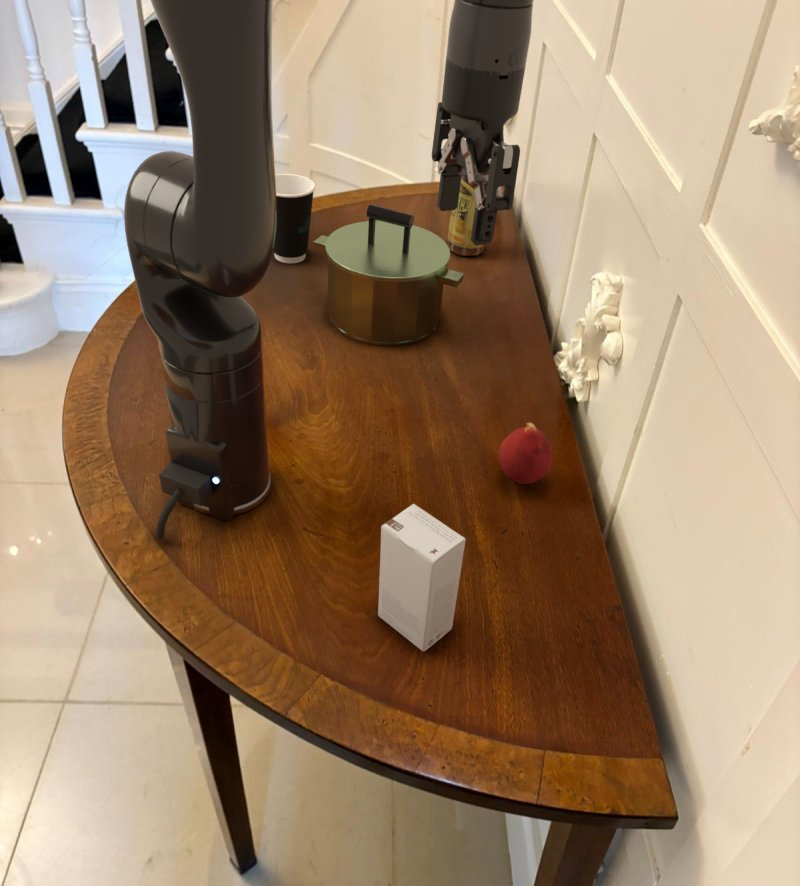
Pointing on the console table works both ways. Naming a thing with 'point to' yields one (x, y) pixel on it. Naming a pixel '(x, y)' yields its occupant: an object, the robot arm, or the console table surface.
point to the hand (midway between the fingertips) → (463, 225)
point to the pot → (385, 305)
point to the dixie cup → (293, 217)
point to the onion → (526, 454)
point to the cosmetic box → (419, 576)
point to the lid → (387, 248)
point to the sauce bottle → (464, 220)
